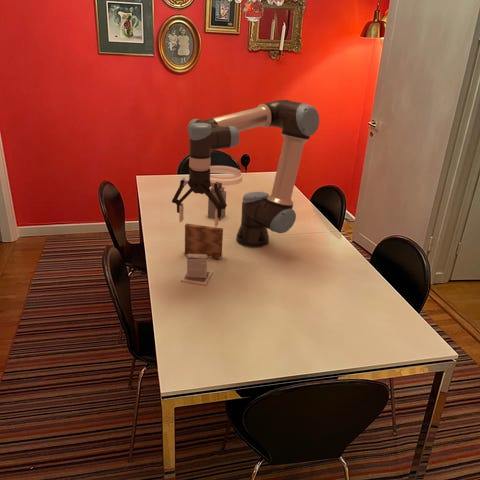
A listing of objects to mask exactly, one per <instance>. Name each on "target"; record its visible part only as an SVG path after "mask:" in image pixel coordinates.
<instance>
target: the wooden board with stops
mask: <svg viewBox="0 0 480 480" xmlns="http://www.w3.org/2000/svg"><path fill="white" fill-rule="evenodd" d="M223 236H224V228H221V227H215V226H209V225H208V226H207V225H201V224H200V225H199V224H193V223H187V222H186V224H184V255H186V256H188V254H207V257H211V259H215V260H220V259H221V258H222V256H223V239H224V238H223Z"/></svg>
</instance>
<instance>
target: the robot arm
mask: <svg viewBox="0 0 480 480" xmlns="http://www.w3.org/2000/svg"><path fill="white" fill-rule="evenodd" d="M319 126H320V114H319V112H318V109H317V108H316V107H314V106H313V105H310V104H307V103H304V102H303V103H302V102H297V101H294V100H288V99H278V100H272V101H269V102H265V103H260V104H258V105H257V107H254V108H251V109H250V108H249V109H246V110H242V111H237V112H233V113H229V114H224V115H221V116H217V117H211V118H207V119H201V118H194V119H193V118H192V119H191V120H190V121H189V123H188V124H187V133H188V136H189V137H188V139H189V141H188V142H189V146H188V148H189V149H188V150H189V152H188V154H189V158H188V159H189V161H188V163H189V164H188V166H189V169H188V170H189V171H188V173H189V175H188V179H186V178H182V179H180V181H179V182H180V183H179V187H178V188H177V190H176V192H175V194H174V196H173V198H172V200H171V203H173V204H176V213H178V214H179V215H178V217H179V220H178V221H179V223H183V221H184V203H183V202H184V200H186V199H187V197H188V196H189V195H191V193H192V192H193V193H194V194H200V195H205V196H206V197H207V198H209V199H210V200H211V202H212V203H213V204H214V205H215V207H216V210H215V219H214V227H216V228H218V225H219V221H220V220H219V218H220V217H221V212H222V209H225V208H227V206H228V205H227V203H226V202H227V201H226V202H225V200H224V198H223V195H222V193H221V191H220V189H219V183H218V182H216V183H211V182H210V176H211V173H210V169H209V168H210V166H212V165H211V164H212V162H211V158H212V151H215V150H216V151H217V150H223V149H230V148H234V147H237V146H238V144H239V143H240V137H241V136H240V132H244V131H247V130H251V129H255V128H259V127H261V128H270V127H274V128H275V127H276V128H280V129H281V136H282V138H283V141H282V146H281V151H280V155H279V159H278V164H277V168H276V173H275V177H274V181H273V182H274V183H273V186H272V189H271V190H272V191H271V194H270V195H269V193H267V192H263V191H251V192H246V193H245V194H244V195H243V196H242V201H241V218H240V219H241V220H240V222H241V223H240V226H239V228H238V231H237V233H236V242H237V243H238V244H239V245H242V246H245V247H248V248H261V247H264V246H267V245H268V244H269V242H270V235H269V231H268V230H270V231H272V232H274V233H277V234H284V233H287V232H288V231H289V230H290V229H291V228H292V227H293V226H294V224H295V223H296V219H297V214H296V211H295V210H294V209H293V207H294V201H293V200H292V197H293V192H294V188H295V185H296V180H297V175H298V171H299V168H300V167H299V166H300V163H301V160H302V154H303V150H304V147H305V144H306V143H307V142H308V141H310V137H311V136H314V134H316V132H317V131H318V129H319ZM186 185H188V187H189V189H188V190H187V191H186V193H184V195H183V196H181V197H180V195H181V193H182V191H183V189H184V187H185V186H186ZM211 188H213V189H214V190H215V193H216V195H217V197H218V200H219V201H218V200H217V199H216V197H215V196H214V195H213V194H212V192H211ZM179 197H180V198H179ZM219 202H220V203H219ZM225 210H226V209H225Z"/></svg>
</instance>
